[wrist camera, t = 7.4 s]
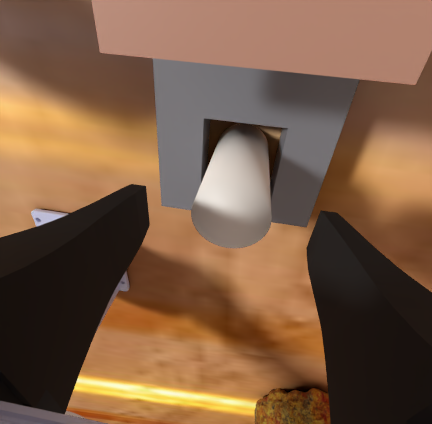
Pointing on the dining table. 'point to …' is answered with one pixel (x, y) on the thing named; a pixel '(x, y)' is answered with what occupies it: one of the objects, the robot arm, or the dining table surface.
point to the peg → (235, 190)
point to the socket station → (263, 77)
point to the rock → (293, 407)
